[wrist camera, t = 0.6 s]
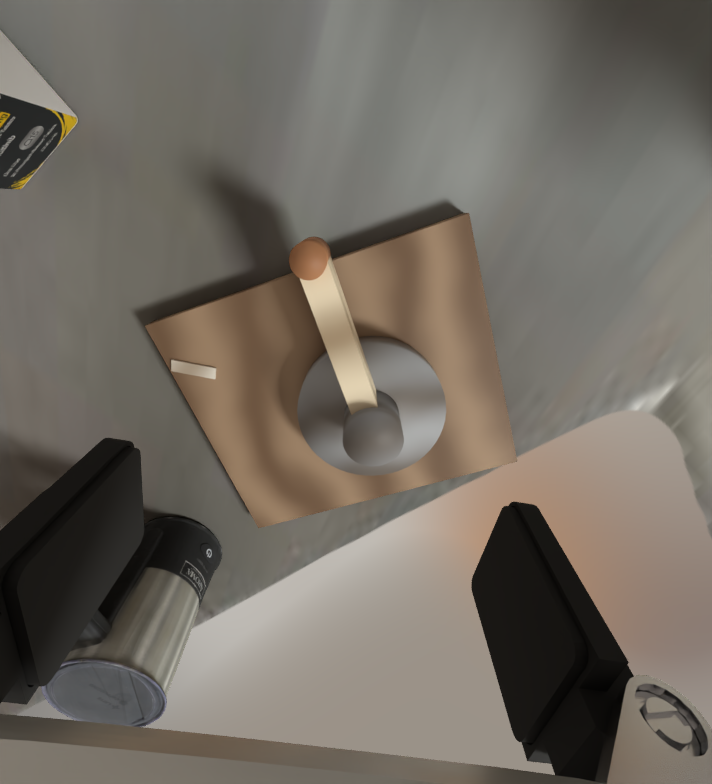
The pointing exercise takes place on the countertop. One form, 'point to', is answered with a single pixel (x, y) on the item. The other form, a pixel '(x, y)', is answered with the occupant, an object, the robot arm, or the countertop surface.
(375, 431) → the grey disc with handle
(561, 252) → the countertop surface
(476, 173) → the countertop surface
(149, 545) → the milk frother
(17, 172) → the medicine bottle
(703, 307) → the countertop surface
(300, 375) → the board
